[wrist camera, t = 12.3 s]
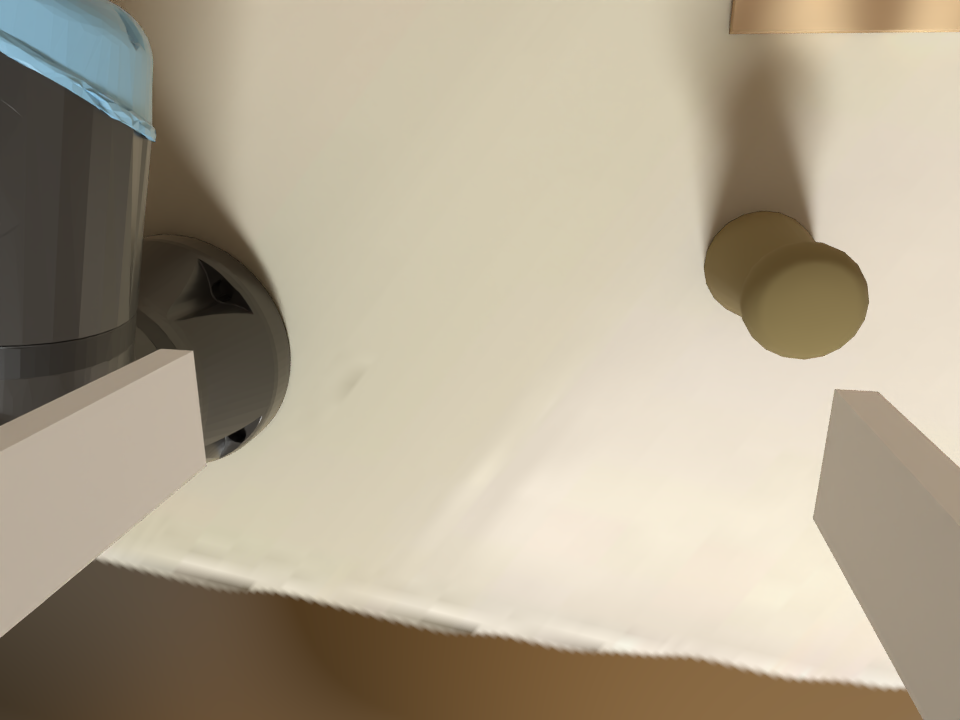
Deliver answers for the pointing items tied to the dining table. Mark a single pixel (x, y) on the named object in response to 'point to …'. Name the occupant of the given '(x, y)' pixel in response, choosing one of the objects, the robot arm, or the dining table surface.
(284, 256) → the dining table surface
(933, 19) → the rack
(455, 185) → the dining table surface
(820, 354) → the cork
